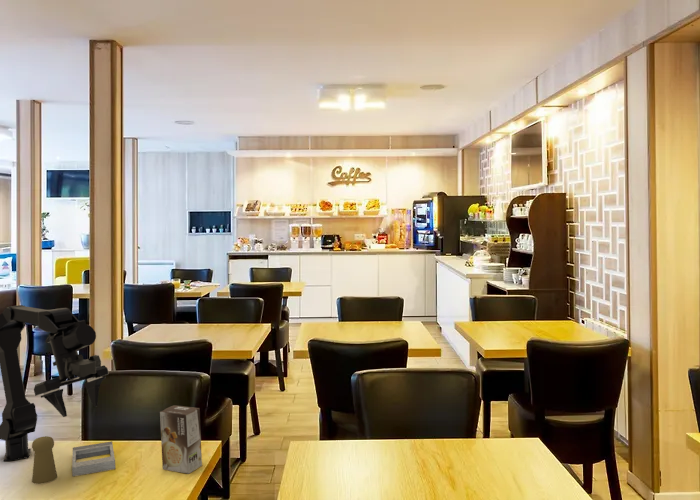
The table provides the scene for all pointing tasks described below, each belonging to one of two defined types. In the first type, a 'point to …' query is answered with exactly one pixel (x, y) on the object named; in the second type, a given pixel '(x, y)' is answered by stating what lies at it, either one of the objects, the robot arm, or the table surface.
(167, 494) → the table surface
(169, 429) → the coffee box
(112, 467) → the silver metal frame
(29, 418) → the robot arm
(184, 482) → the table surface
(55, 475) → the cork
